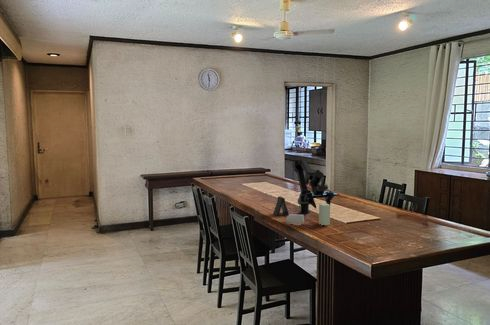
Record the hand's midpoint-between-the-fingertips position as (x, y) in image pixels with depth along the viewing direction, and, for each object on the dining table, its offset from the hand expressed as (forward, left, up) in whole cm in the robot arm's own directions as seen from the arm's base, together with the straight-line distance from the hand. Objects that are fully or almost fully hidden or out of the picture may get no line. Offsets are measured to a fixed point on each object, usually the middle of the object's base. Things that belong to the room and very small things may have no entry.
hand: (322, 207), depth 243 cm
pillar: (+2, +2, -10) cm, 10 cm away
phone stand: (-11, -31, -10) cm, 35 cm away
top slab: (+7, -16, -8) cm, 19 cm away
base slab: (+7, -15, -10) cm, 20 cm away
